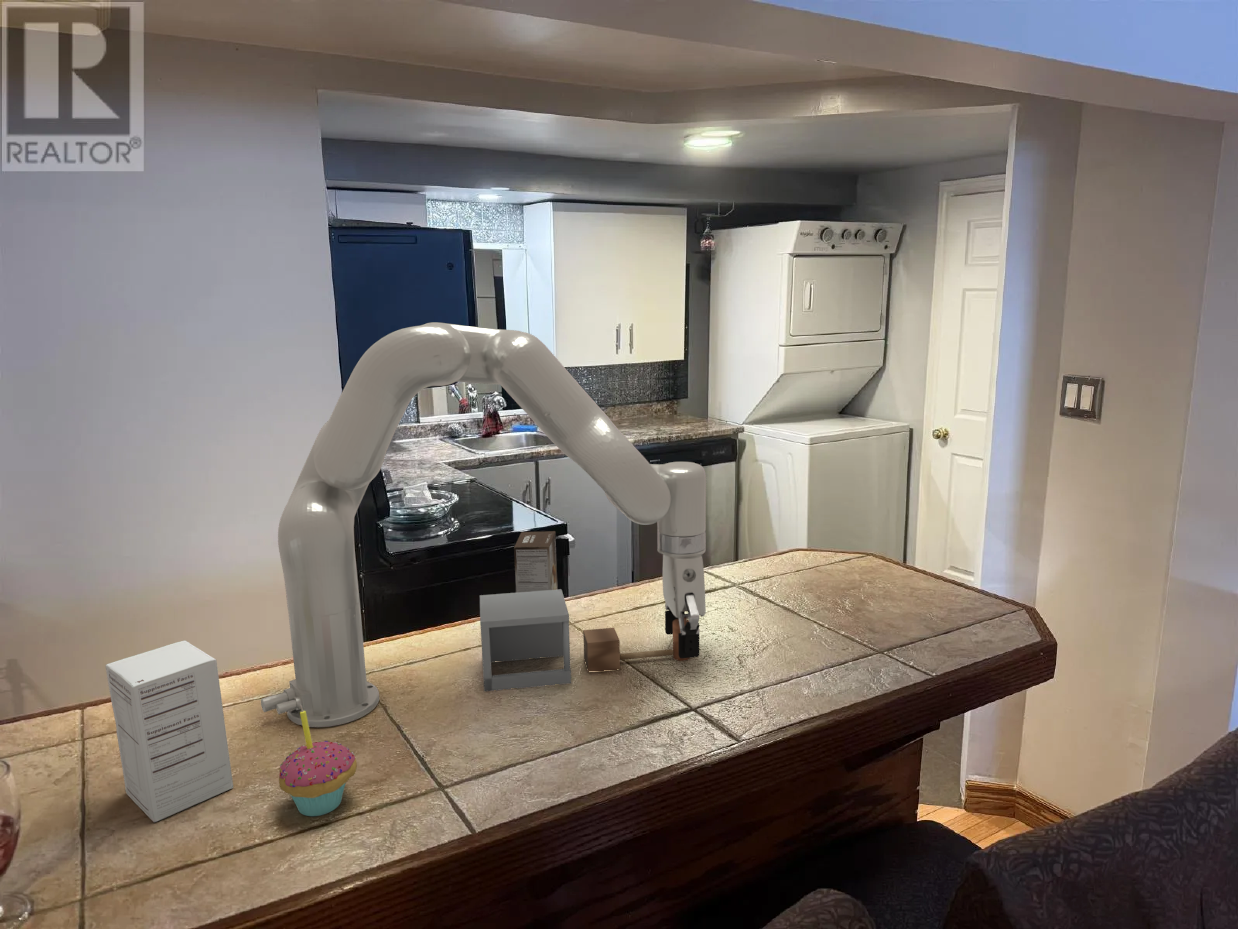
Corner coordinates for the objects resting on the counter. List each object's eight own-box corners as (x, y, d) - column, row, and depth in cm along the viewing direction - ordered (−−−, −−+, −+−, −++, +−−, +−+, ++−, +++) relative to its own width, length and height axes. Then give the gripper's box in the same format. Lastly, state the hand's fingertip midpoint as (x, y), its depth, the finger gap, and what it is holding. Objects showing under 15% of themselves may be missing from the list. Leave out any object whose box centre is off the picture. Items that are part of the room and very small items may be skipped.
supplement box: (235, 788, 100) (219, 658, 97) (153, 825, 94) (133, 687, 90) (202, 760, 107) (186, 637, 103) (123, 792, 100) (103, 662, 96)
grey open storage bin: (484, 691, 123) (480, 622, 121) (483, 659, 134) (479, 595, 132) (571, 683, 126) (568, 614, 123) (563, 652, 136) (561, 589, 134)
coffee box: (524, 615, 152) (520, 530, 149) (559, 614, 152) (556, 530, 149) (517, 635, 143) (513, 546, 140) (554, 635, 143) (551, 546, 140)
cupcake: (266, 810, 96) (255, 715, 93) (328, 775, 103) (319, 685, 100) (313, 836, 91) (302, 737, 89) (374, 797, 98) (366, 703, 96)
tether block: (588, 673, 129) (587, 637, 128) (584, 659, 134) (583, 624, 132) (694, 663, 132) (694, 627, 130) (686, 649, 136) (686, 615, 135)
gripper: (720, 556, 122) (719, 666, 126) (690, 524, 139) (690, 622, 142) (670, 560, 121) (671, 670, 124) (646, 527, 138) (647, 625, 141)
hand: (681, 644), depth 133 cm, fingers open, 8 cm apart
